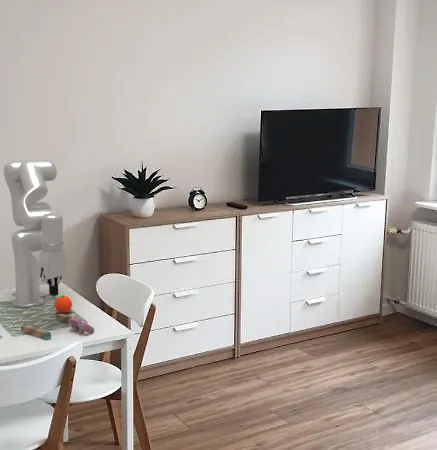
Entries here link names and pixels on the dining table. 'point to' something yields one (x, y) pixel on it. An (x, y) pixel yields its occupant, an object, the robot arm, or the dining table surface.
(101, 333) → the dining table surface
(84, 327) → the video game controller
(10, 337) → the dining table surface
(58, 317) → the channel
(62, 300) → the clementine
